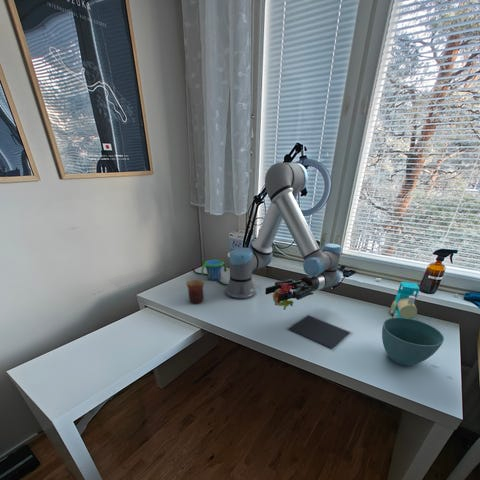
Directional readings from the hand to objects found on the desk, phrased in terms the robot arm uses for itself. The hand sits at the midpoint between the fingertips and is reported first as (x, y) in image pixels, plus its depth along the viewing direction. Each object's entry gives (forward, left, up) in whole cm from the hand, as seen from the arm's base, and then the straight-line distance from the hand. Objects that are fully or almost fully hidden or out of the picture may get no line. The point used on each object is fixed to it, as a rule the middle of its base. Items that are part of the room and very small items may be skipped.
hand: (272, 294), depth 107 cm
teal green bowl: (+48, +18, -16) cm, 53 cm away
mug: (-43, -5, -16) cm, 47 cm away
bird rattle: (+2, +4, -7) cm, 8 cm away
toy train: (+39, +49, -16) cm, 64 cm away
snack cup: (-59, +21, -16) cm, 65 cm away
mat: (+17, +13, -16) cm, 26 cm away
